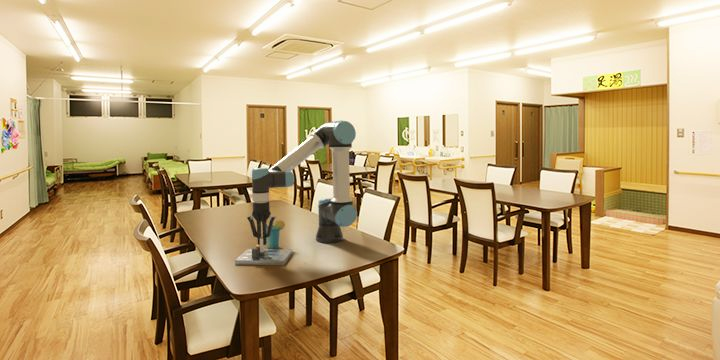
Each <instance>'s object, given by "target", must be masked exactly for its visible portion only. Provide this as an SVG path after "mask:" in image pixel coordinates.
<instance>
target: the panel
mask: <svg viewBox="0 0 720 360" xmlns="http://www.w3.org/2000/svg"><path fill="white" fill-rule="evenodd" d="M292 255H293V249H288V248H287V249H285V248H284V249H283V248H282V249H281V248H279V249H278V248H275V249H270V248H265V251H264V252H262V253H261V254H258V248H256V247H253V248H247V249H246V250H245V251H244V252H243V253H241V254H240V255H239V256H238V257H237V258H235V260H234V265H239V266H241V265H242V266H243V265H245V266H250V265H251V266H255V265H256V266H285V264H287V262H288V260H289V259H290V257H291V256H292Z"/></svg>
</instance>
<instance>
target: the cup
mask: <svg viewBox="0 0 720 360" xmlns="http://www.w3.org/2000/svg"><path fill="white" fill-rule="evenodd" d="M285 226H286V223H285V222H284V221H283V220H281V219H279V220H276V221H275V223H274V225H273V226H272V230H271V235H270V236H269V237H267V249H278V248H279V245H280V231H281V230H283V229H285ZM266 227H267V231H268V227H269V225H268V224H267V223H266Z"/></svg>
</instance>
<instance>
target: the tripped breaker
mask: <svg viewBox="0 0 720 360" xmlns="http://www.w3.org/2000/svg"><path fill="white" fill-rule="evenodd" d="M255 248H258V254H261V253H262V252H260V245H258V244H256V245H255Z"/></svg>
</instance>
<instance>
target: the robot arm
mask: <svg viewBox="0 0 720 360" xmlns="http://www.w3.org/2000/svg"><path fill="white" fill-rule="evenodd" d="M356 134H357V132H356V129H355V127H354V125H353V124H352V123H351V122H349V121H347V120H333V121H332V120H331V121H328V122H325V123H323V124H322V125H321V126H320V127H318V128H317V129H316V130H315V131H312V133H311V134H310V137H309V138H307V139H306V140H305V141H303V142H302V143H301V144H300V145H298V146H297V147H295V148H294V149H293V150H292V151H291V152H289V153H288V154H287V155H285V156H284V157H283V158H282V159H280V160H279V161H278V162H277V163H275V164H274V165H272V166H271V167H270V168H267V167H256V168H252V170H251V185H252V188H251V190H252V192H251V193H252V212H251V215H249V216H247V220H248V222H249V225H250V229H251V232H252V235H253V237H254V238H257V245H260V252H264V251H265V249H266V248H265V247H266V245H268V243H267V237H269V236H270V235H271V230H272V226H274V222H275V219H276V216H275V215H272V213H271V210H270V202H269V201H270V189H273V188H274V189H275V188H289V187H293V186H294V182H295V176H294V173H293V172H292V171H293V170H294V169H296V168H297V167H298V166H299V165H301V164H302V163H303V162H304V161H305V160H307V159H308V158H309V157H311V156H312V155H313V154H315V153H316V152H317V151H318V150H319V149H324V148H325V147H326V146H328V148H329V149H330V150H331V153H332V154H331V157H332V158H331V159H332V188H333V189H332V190H333V191H332V194H333V197H331V198H321V199H319V200H318V228H317V231H316V234H315V241H316V242H318V243H324V244H329V243H330V244H331V243H333V244H334V243H338V242H342V241H344V234H343V231H342V228H341V227H350V226H352V225H353V224H354V222H356V220H357V216H358V211H357V208H356V206H354V200H353V198H352V197H351V191H350V190H351V189H350V188H351V186H350V150H351V149H352V148H353V146H352V144H353V142H354V140H355V139H356ZM268 219H269V223H268V226H269V227H268V231H267V227H266V224H267V221H268ZM254 220H255V221H256V224H255V221H254Z"/></svg>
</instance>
